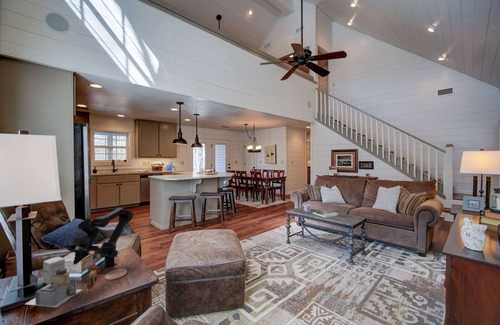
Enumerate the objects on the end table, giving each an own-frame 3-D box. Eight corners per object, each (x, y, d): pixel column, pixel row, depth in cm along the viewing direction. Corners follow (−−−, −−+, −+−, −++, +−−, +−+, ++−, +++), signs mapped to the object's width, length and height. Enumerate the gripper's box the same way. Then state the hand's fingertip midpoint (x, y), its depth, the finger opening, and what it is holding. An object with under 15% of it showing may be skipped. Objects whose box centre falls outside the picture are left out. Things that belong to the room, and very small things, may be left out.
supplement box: (42, 282, 125) (42, 261, 125) (58, 276, 132) (58, 255, 132) (49, 286, 122) (49, 263, 122) (65, 279, 129) (65, 258, 129)
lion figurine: (86, 278, 131) (86, 263, 131) (97, 275, 134) (97, 261, 134) (86, 290, 119) (86, 274, 119) (98, 287, 122) (98, 271, 122)
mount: (53, 289, 120) (53, 274, 119) (82, 291, 118) (82, 277, 118) (24, 306, 106) (24, 290, 105) (56, 309, 104) (56, 293, 104)
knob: (61, 290, 116) (61, 267, 116) (69, 291, 115) (69, 268, 115) (52, 296, 112) (52, 272, 111) (61, 296, 111) (61, 272, 111)
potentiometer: (71, 291, 116) (71, 285, 116) (78, 291, 116) (78, 285, 116) (65, 295, 112) (65, 289, 112) (72, 296, 112) (72, 289, 112)
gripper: (67, 230, 126) (48, 257, 116) (97, 231, 124) (80, 260, 114) (79, 238, 134) (62, 265, 124) (108, 240, 133) (93, 267, 122)
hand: (74, 264), depth 121 cm, fingers closed
